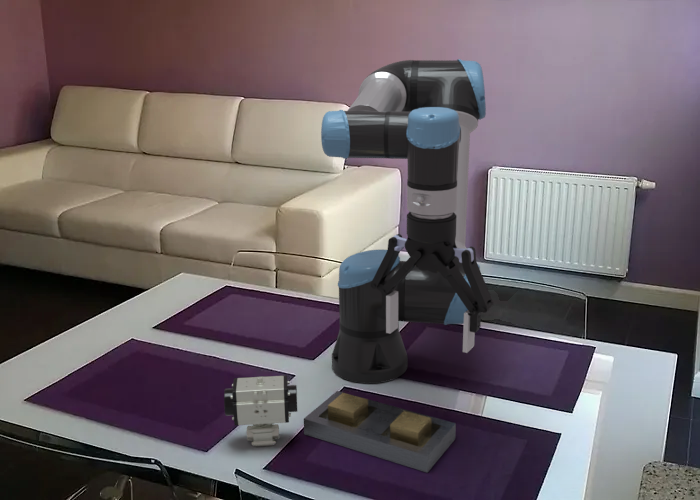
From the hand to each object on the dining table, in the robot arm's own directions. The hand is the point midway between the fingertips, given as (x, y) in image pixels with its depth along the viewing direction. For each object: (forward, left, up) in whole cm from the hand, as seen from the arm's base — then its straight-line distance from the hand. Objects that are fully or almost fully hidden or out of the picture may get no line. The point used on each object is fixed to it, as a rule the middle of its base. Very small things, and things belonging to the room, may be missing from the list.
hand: (429, 339), depth 126 cm
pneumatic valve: (-23, -14, -19) cm, 33 cm away
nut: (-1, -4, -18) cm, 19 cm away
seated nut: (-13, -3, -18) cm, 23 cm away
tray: (-7, -3, -18) cm, 20 cm away
